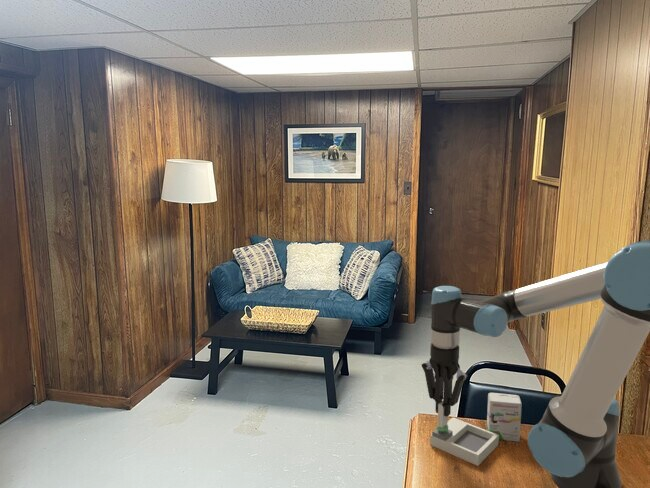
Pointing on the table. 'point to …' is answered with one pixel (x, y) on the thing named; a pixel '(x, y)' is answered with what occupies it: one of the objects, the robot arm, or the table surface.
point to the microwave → (465, 441)
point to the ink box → (504, 416)
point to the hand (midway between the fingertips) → (442, 424)
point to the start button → (442, 428)
